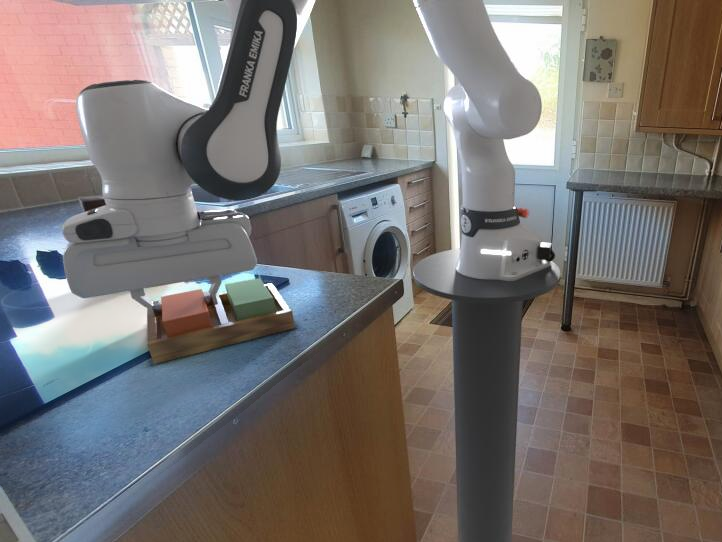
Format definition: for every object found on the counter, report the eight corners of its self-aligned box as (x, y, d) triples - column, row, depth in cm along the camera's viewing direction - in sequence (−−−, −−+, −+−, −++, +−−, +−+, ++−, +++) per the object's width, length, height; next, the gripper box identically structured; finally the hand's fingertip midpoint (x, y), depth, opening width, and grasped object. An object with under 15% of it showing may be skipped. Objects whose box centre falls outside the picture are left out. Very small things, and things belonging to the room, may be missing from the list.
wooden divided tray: (275, 298, 73) (272, 282, 72) (295, 328, 63) (292, 310, 62) (153, 323, 63) (147, 306, 62) (154, 364, 53) (147, 344, 52)
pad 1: (215, 336, 58) (208, 311, 57) (171, 347, 55) (162, 321, 54) (208, 311, 65) (201, 288, 64) (169, 320, 62) (160, 296, 61)
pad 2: (264, 299, 70) (260, 277, 69) (278, 321, 63) (273, 297, 62) (230, 306, 67) (224, 284, 66) (240, 330, 60) (234, 305, 59)
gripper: (243, 204, 63) (261, 287, 68) (50, 220, 50) (91, 319, 56) (251, 211, 58) (270, 299, 63) (41, 231, 46) (86, 338, 51)
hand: (185, 309), depth 59 cm, fingers closed on pad 1, 5 cm apart
